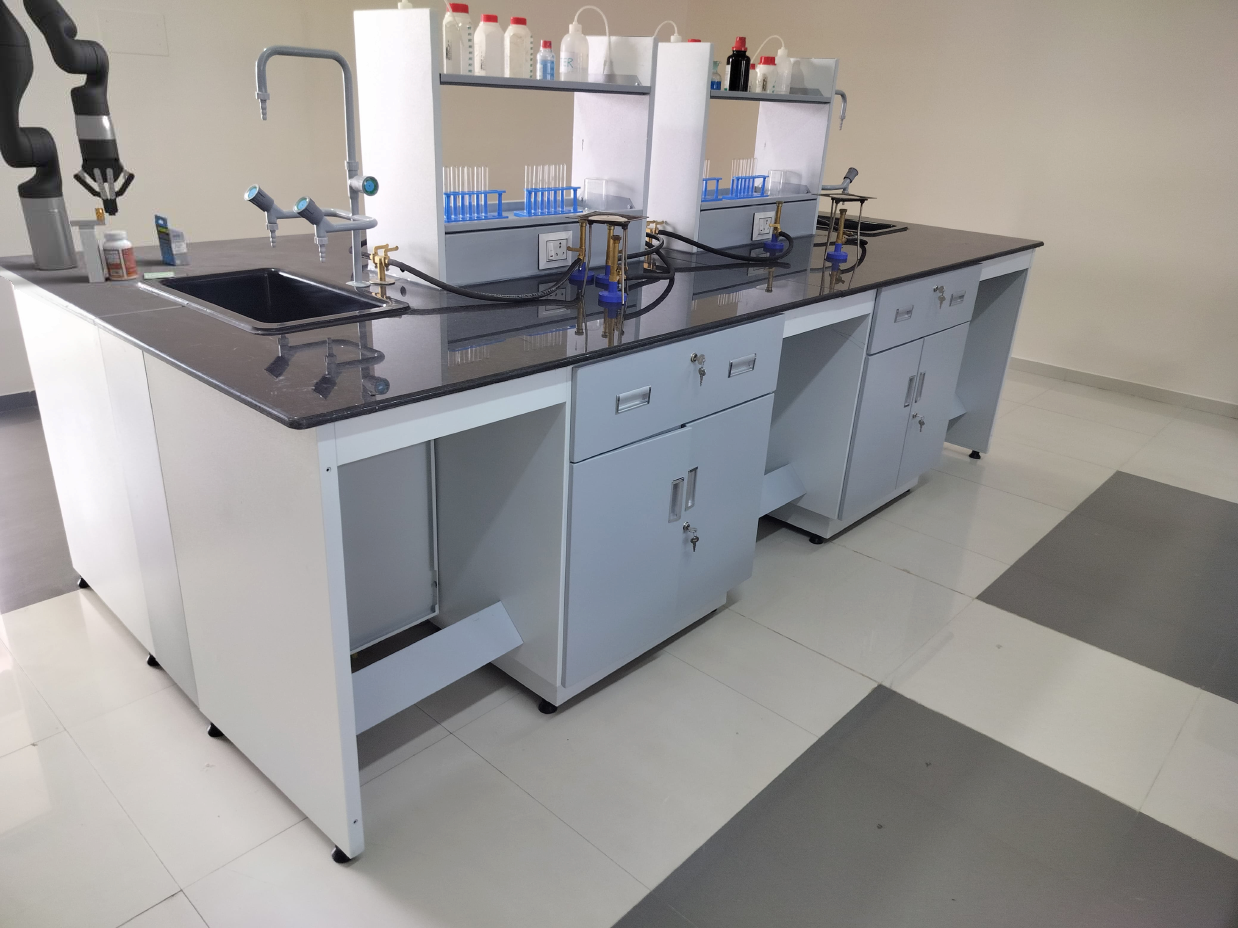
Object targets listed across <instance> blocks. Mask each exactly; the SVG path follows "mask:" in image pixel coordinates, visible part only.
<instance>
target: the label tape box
mask: <svg viewBox="0 0 1238 928" xmlns="http://www.w3.org/2000/svg"><path fill="white" fill-rule="evenodd" d="M160 221H161V222H162V223H161V222H160ZM154 225H155V229H156V233H157V239H158V244H159V248H160V253H161V259H162V262H164V263H166V264H170V265H173V266H175V267H179V266H187V265H190V259H189V254H188V251H187V245H186V241H185V235H184V232H183V231H180V230H177V229H174V228H170V227H169V225H168V218H167V217H165V216H160V215H158V214H154Z"/></svg>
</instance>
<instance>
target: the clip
mask: <svg viewBox="0 0 1238 928" xmlns="http://www.w3.org/2000/svg"><path fill="white" fill-rule="evenodd" d="M94 211H95V216H96V219H80V220H69V224H70V228H73V227H78V226H96V227H97V226H98V227H99V226H103V227H104V226H106V218H105V214H104V213H105V211H104V207H98V208H97V207H96V208H94Z"/></svg>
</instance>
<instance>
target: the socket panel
mask: <svg viewBox="0 0 1238 928" xmlns="http://www.w3.org/2000/svg"><path fill="white" fill-rule="evenodd" d="M77 227H78V233H79V237H80V238H79V239H80V243H81V247H82V252H83V257H84V261H85V265H86V266H85V267H86V270H87V275H88V280H89V283H91V284H92V283H104V282H106V271H105V266H104V263H103V262H104V261H103V257H102V253H101V252H102V251H101V247H100V243H99V242H100V241H99V238H98V236H99V235H98V232H97V226H77Z"/></svg>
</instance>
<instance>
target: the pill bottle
mask: <svg viewBox="0 0 1238 928" xmlns="http://www.w3.org/2000/svg"><path fill="white" fill-rule="evenodd" d="M103 238H104V240H105V241H104V242H103V243H102V245H101V246H102V251H103V256H104V260H105V264H106V270H107V275H108V278H109V279H110V280H111V281H119V282H121V281H130V280H134V279H137V278H138V270H137V265H136V260H135V259H136V258H135V254H134V249H133V245H132V242H130V241H129V240H127V232H126V230H119V229H117V230H107V231H103Z"/></svg>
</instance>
